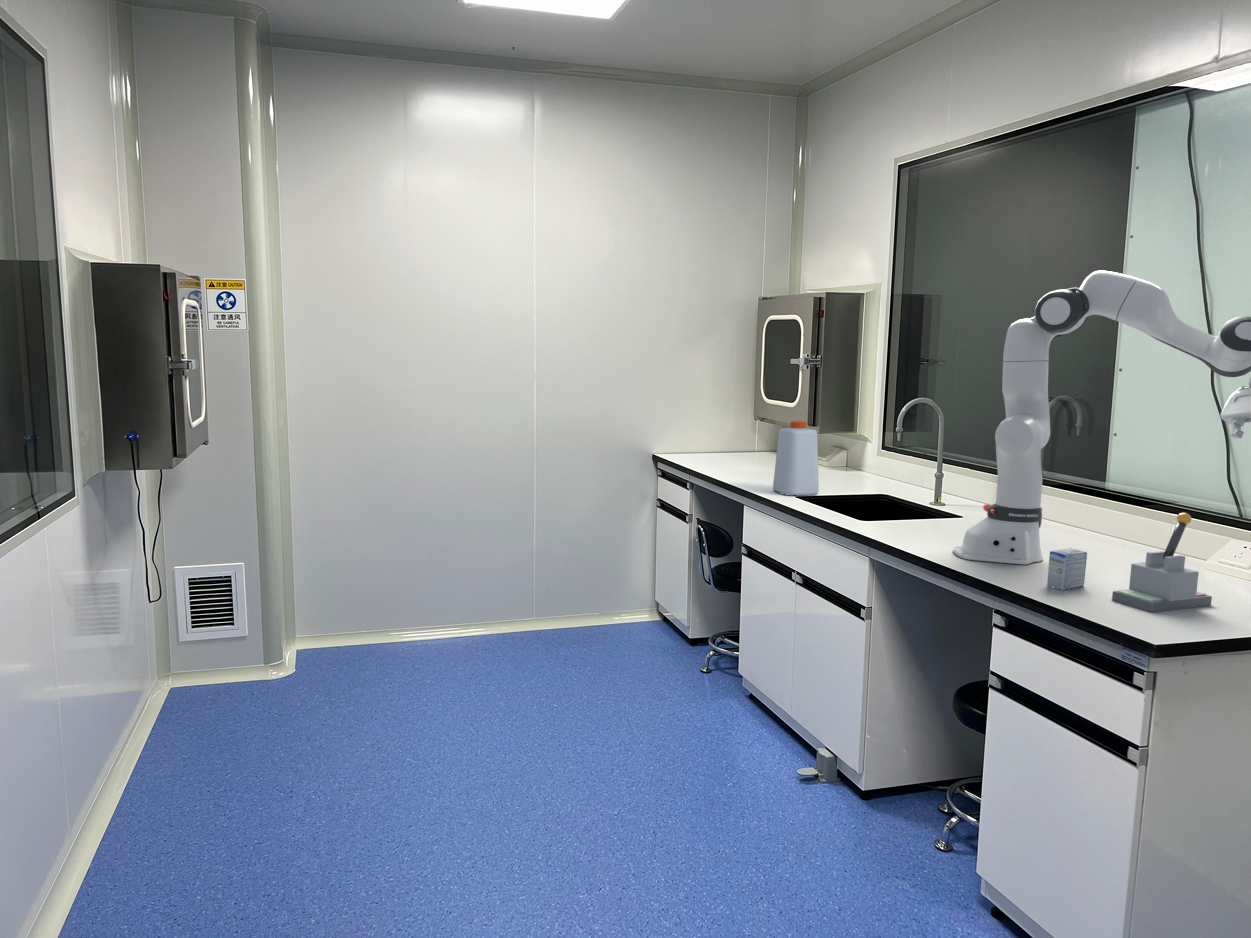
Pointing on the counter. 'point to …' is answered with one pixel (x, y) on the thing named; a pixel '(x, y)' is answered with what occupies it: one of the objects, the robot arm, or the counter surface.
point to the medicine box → (1066, 568)
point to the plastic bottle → (796, 461)
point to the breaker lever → (1177, 534)
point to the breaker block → (1162, 585)
